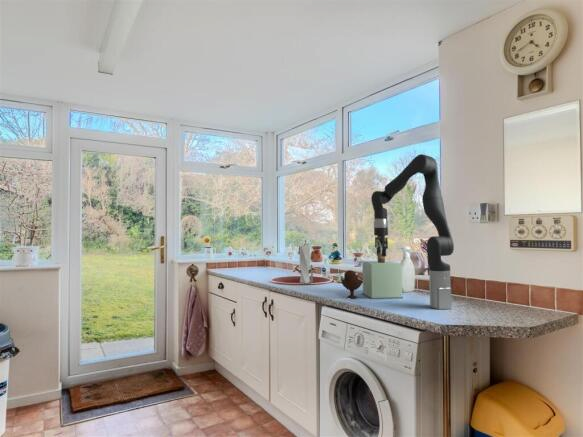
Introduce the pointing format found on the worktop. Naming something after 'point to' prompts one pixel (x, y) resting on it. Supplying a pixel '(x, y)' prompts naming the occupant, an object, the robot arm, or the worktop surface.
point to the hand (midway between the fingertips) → (381, 256)
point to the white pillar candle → (305, 264)
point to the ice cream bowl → (351, 283)
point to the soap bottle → (407, 272)
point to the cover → (382, 278)
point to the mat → (382, 298)
